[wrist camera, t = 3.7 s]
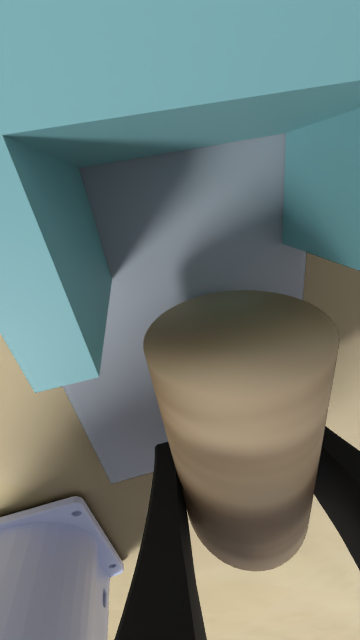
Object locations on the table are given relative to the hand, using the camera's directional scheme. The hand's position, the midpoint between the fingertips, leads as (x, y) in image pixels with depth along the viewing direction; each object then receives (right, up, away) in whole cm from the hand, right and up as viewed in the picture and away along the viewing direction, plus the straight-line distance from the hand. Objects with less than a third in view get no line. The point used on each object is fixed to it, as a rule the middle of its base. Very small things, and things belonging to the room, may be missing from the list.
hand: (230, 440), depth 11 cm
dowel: (-1, +2, 0) cm, 3 cm away
